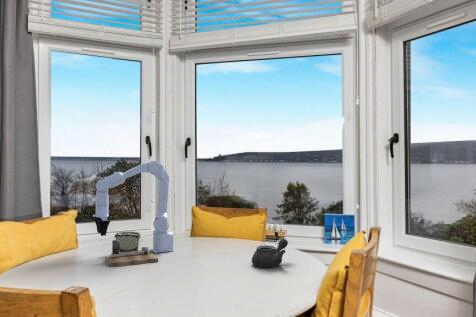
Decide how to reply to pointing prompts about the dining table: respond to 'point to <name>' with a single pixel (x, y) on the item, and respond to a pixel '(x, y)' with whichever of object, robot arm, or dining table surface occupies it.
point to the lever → (117, 252)
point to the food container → (128, 241)
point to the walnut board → (131, 259)
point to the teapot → (269, 255)
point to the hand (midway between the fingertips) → (101, 234)
